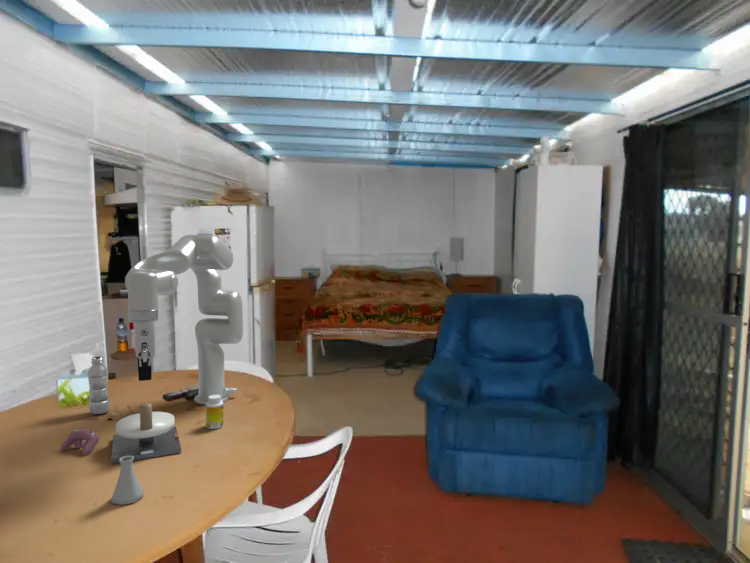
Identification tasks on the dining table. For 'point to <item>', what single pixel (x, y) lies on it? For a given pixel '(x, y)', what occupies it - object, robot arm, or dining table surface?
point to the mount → (146, 446)
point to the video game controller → (81, 440)
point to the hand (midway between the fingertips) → (144, 375)
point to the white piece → (145, 423)
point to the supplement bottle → (214, 412)
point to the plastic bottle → (98, 386)
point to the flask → (127, 484)
